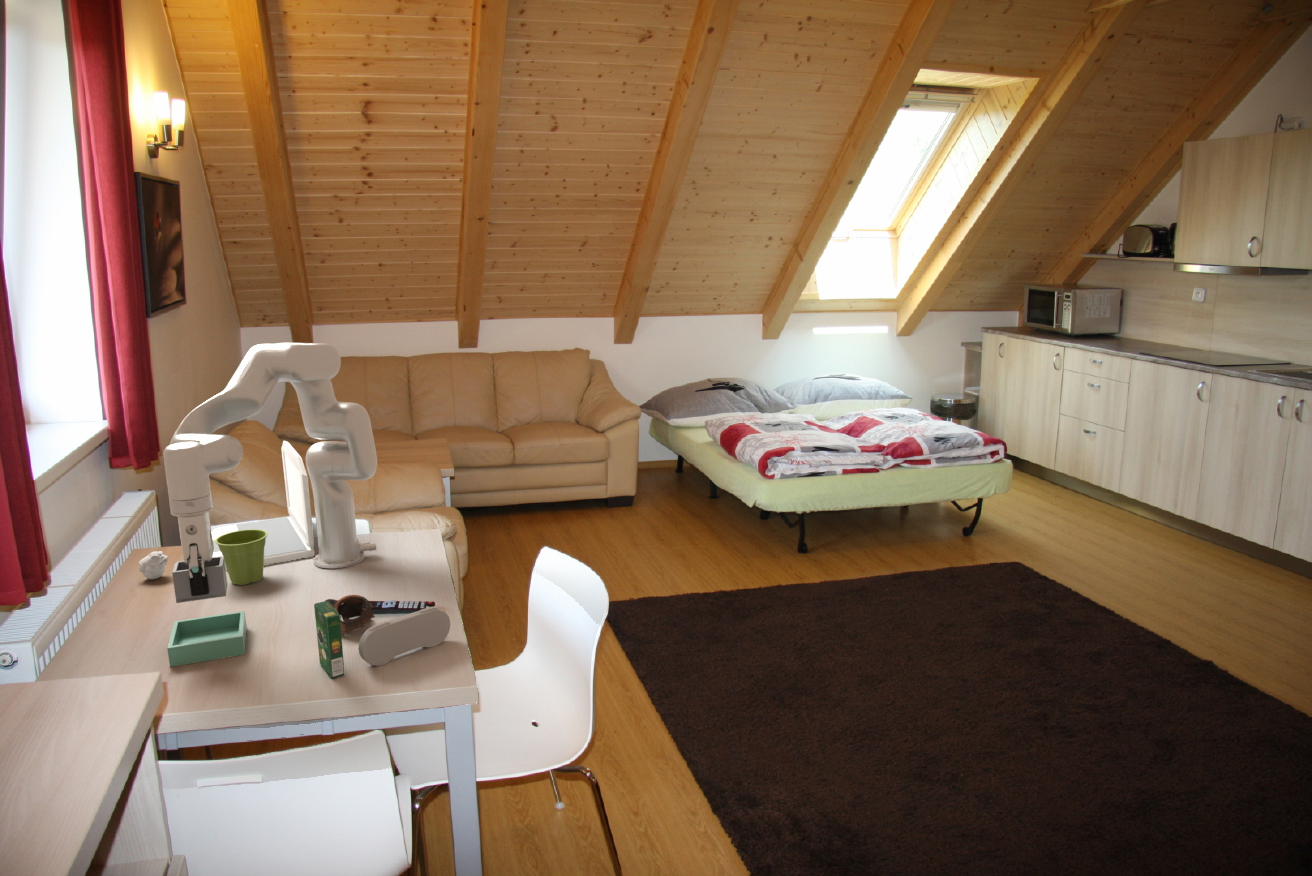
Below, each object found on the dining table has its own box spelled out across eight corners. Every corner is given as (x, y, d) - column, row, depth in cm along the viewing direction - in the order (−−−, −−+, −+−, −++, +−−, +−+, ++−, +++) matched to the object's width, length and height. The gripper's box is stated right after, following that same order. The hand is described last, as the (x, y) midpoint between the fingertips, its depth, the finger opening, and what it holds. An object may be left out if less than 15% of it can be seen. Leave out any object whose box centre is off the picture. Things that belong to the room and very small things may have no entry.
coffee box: (346, 676, 177) (340, 613, 174) (331, 680, 175) (325, 617, 172) (334, 660, 183) (328, 599, 180) (319, 664, 182) (313, 603, 179)
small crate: (227, 585, 192) (223, 555, 190) (225, 596, 186) (222, 566, 185) (179, 591, 188) (175, 561, 187) (176, 603, 183) (172, 572, 181)
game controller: (446, 637, 194) (443, 600, 192) (452, 640, 192) (449, 603, 190) (359, 667, 181) (355, 628, 179) (364, 671, 179) (361, 632, 177)
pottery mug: (383, 619, 204) (381, 596, 198) (362, 653, 197) (360, 631, 191) (333, 603, 205) (330, 580, 199) (311, 637, 198) (307, 614, 192)
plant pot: (274, 568, 233) (269, 526, 230) (270, 585, 222) (265, 541, 219) (223, 574, 229) (218, 531, 227) (217, 592, 218) (211, 547, 216)
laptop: (203, 537, 258) (191, 446, 251) (294, 523, 269) (285, 435, 263) (215, 575, 229) (202, 474, 223) (316, 557, 241) (306, 460, 235)
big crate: (246, 627, 199) (244, 610, 198) (244, 654, 186) (242, 636, 185) (176, 638, 194) (174, 621, 193) (169, 666, 181) (167, 648, 181)
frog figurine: (163, 583, 224) (159, 556, 222) (134, 583, 224) (130, 556, 223) (176, 573, 230) (172, 547, 228) (148, 574, 230) (144, 547, 229)
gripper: (209, 514, 176) (219, 601, 180) (214, 491, 192) (224, 571, 196) (165, 518, 174) (177, 607, 178) (174, 495, 189) (185, 576, 193)
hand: (201, 587), depth 187 cm, fingers closed on small crate, 6 cm apart
